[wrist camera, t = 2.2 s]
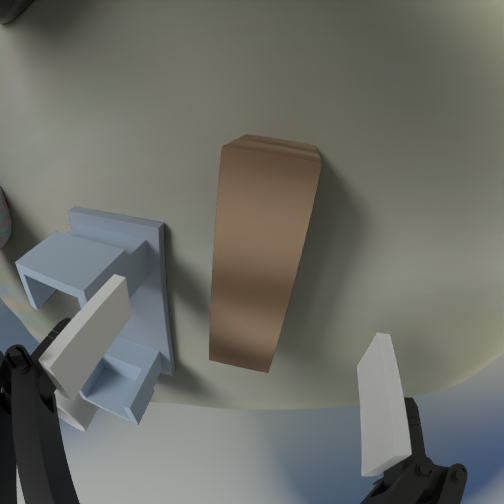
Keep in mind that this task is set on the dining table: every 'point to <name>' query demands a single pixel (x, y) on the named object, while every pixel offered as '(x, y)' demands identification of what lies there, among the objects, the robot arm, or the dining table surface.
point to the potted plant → (4, 220)
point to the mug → (75, 411)
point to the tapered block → (258, 244)
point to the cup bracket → (88, 284)
